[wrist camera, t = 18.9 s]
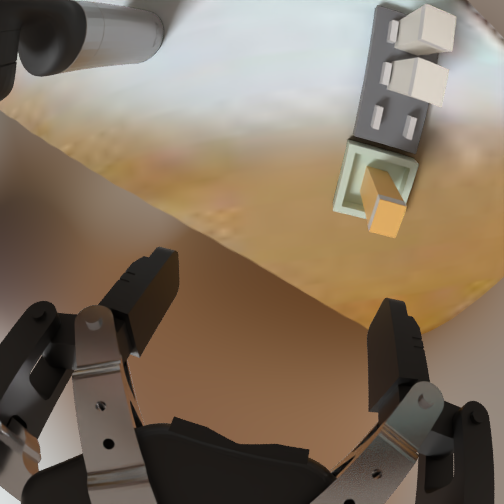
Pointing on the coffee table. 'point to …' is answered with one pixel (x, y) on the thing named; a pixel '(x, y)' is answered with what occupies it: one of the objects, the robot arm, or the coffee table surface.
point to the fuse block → (386, 101)
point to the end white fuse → (426, 31)
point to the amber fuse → (381, 202)
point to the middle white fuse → (419, 80)
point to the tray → (354, 170)
